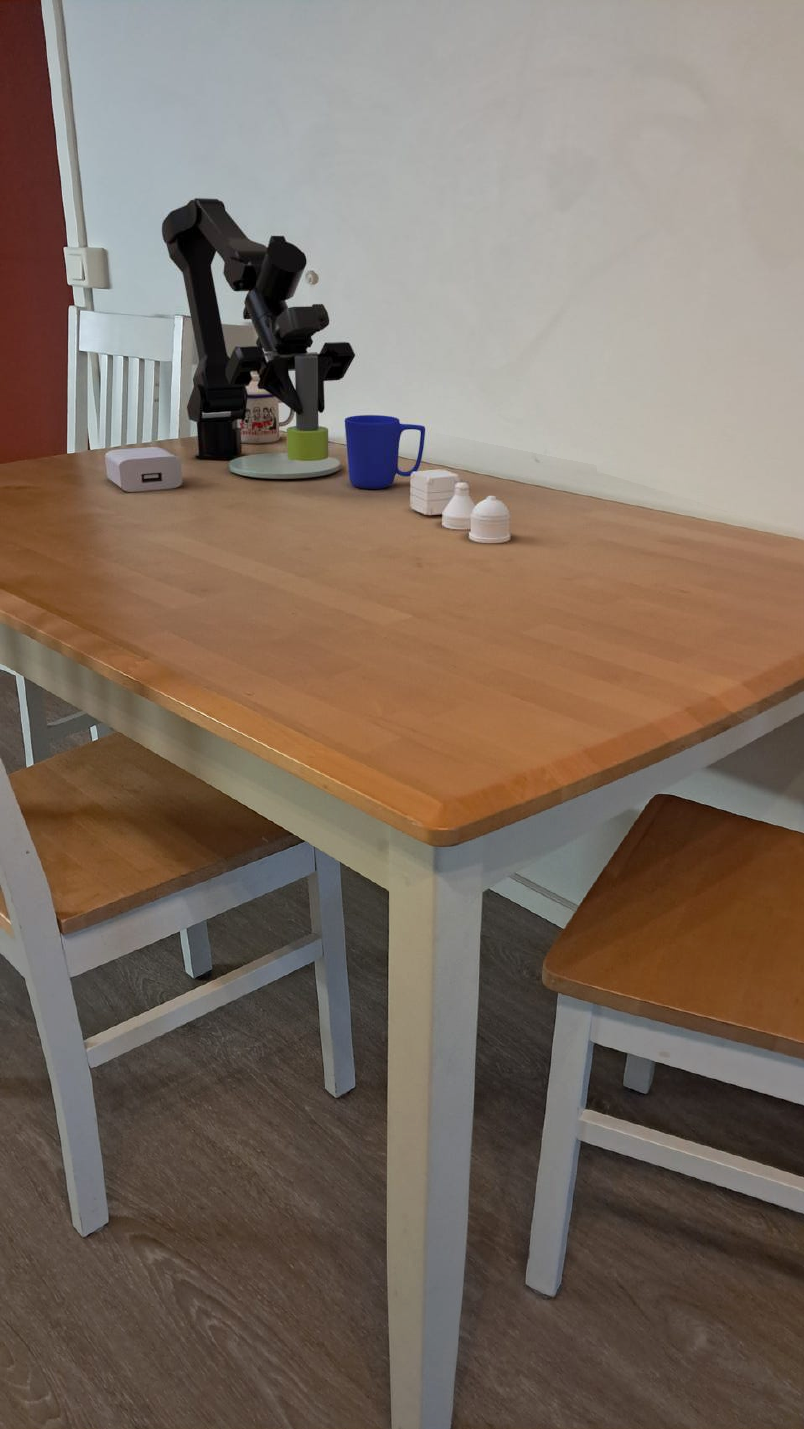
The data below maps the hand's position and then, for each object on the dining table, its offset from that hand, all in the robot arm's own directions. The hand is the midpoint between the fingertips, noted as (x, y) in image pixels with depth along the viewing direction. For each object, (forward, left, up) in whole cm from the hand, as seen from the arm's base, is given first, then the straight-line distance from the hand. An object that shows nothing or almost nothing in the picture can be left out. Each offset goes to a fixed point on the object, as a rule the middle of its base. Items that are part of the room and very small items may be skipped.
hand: (311, 411), depth 152 cm
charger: (-29, +5, -12) cm, 31 cm away
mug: (+9, +9, -12) cm, 17 cm away
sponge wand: (-1, +1, -7) cm, 7 cm away
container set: (+23, -13, -12) cm, 29 cm away
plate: (-9, +18, -12) cm, 23 cm away
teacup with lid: (-20, +45, -12) cm, 50 cm away
